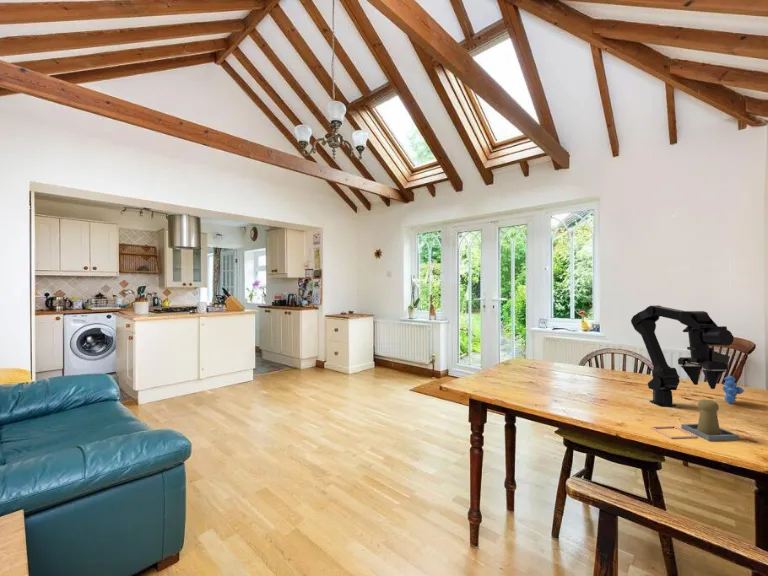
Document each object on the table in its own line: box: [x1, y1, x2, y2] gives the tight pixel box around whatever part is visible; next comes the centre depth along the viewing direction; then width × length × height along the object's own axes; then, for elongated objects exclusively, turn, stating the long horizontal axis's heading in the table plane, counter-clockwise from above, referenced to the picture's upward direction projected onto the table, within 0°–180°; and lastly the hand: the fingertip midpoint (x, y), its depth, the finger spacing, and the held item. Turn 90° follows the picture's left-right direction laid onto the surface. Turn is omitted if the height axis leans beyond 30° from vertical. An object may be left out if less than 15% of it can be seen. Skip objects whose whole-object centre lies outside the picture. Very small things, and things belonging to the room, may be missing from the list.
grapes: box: [721, 375, 745, 404], centre depth 152 cm, size 12×7×12 cm, turn 142°
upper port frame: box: [649, 425, 698, 439], centre depth 124 cm, size 9×9×1 cm
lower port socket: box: [680, 423, 740, 442], centre depth 123 cm, size 10×10×2 cm
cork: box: [697, 399, 721, 435], centre depth 123 cm, size 6×6×11 cm
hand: (704, 386), depth 135 cm, fingers open, 9 cm apart
